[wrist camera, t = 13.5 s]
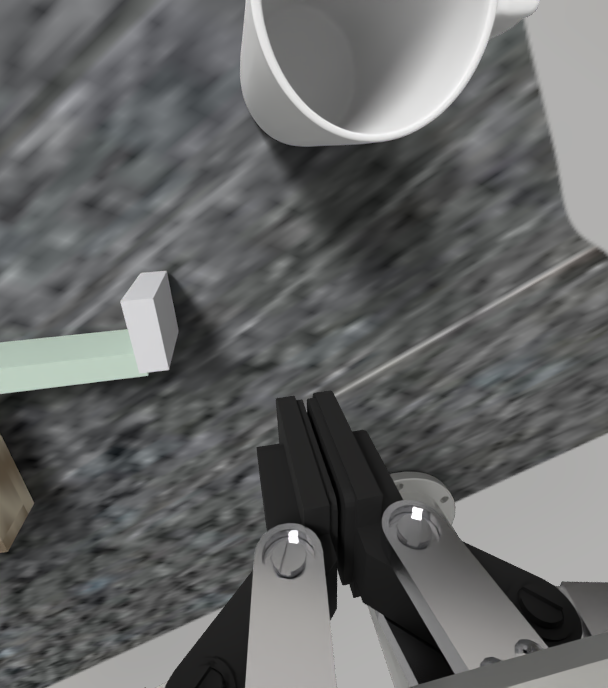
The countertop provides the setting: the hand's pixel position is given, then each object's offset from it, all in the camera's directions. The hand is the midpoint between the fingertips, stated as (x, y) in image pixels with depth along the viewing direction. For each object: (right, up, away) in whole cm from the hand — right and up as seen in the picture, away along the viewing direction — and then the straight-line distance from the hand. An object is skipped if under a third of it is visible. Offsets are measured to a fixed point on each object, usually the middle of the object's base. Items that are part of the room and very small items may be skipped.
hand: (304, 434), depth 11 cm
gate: (-17, +4, +11) cm, 21 cm away
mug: (+1, +17, +9) cm, 20 cm away
